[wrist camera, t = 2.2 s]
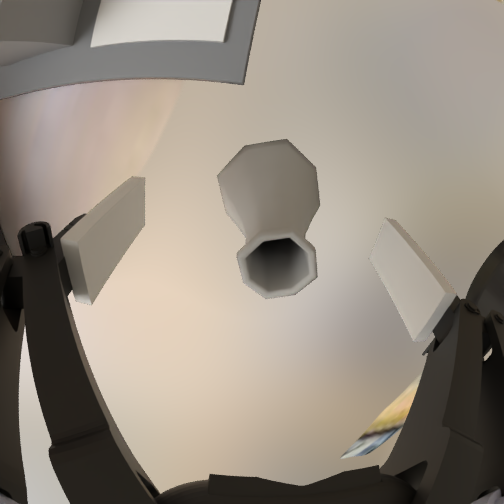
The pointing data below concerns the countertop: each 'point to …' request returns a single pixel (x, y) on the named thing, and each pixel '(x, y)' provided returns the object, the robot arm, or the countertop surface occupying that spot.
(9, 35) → the press
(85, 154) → the countertop surface
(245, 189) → the flask
